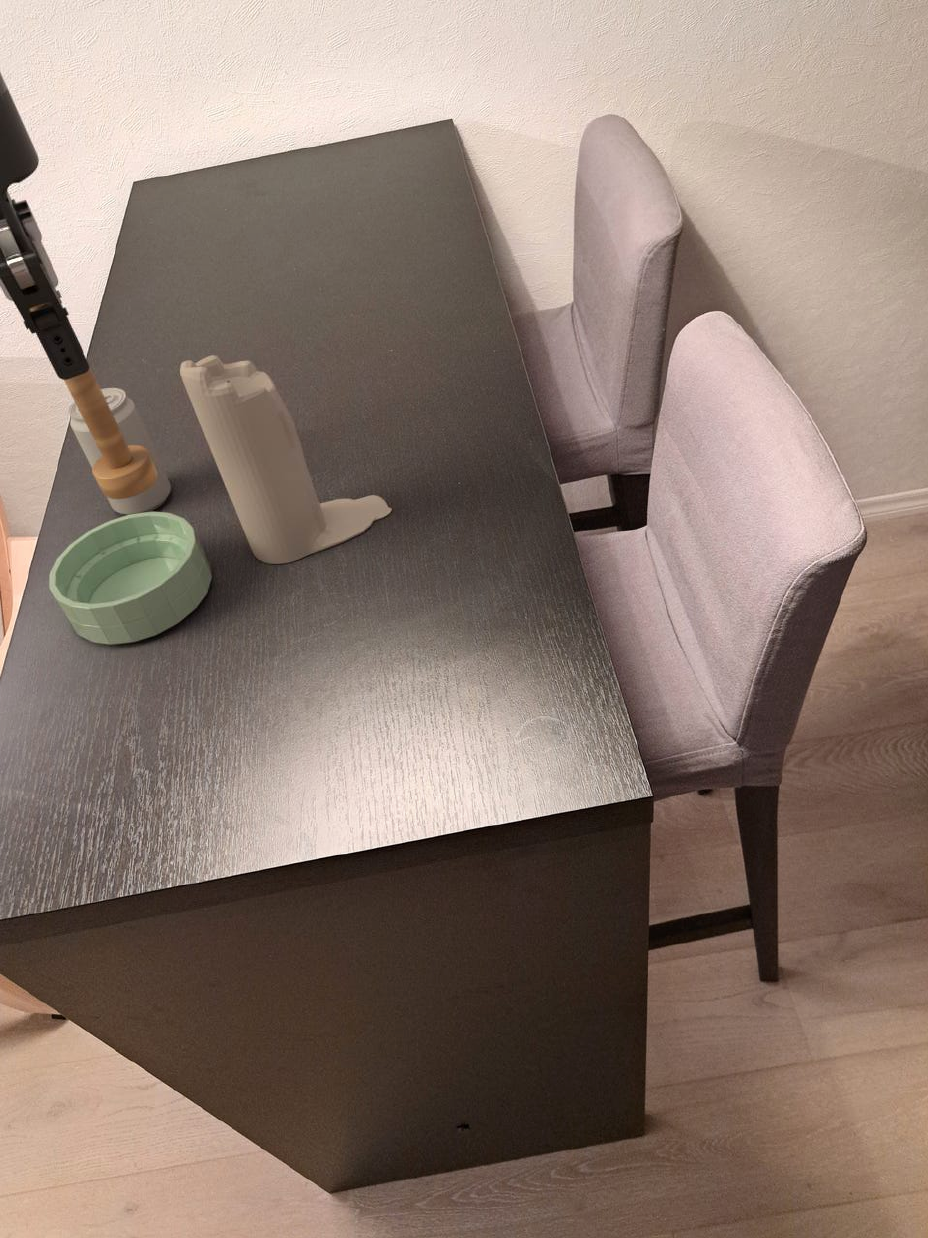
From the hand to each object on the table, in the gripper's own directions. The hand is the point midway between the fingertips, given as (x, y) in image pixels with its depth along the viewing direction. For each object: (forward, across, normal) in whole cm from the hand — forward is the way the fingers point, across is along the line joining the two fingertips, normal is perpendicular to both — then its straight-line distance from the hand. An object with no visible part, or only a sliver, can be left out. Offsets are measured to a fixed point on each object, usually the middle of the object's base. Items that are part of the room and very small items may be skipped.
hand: (72, 366), depth 66 cm
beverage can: (+26, -23, 0) cm, 34 cm away
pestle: (+10, 0, 0) cm, 10 cm away
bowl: (+25, -7, -4) cm, 26 cm away
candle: (+26, -6, +14) cm, 30 cm away
